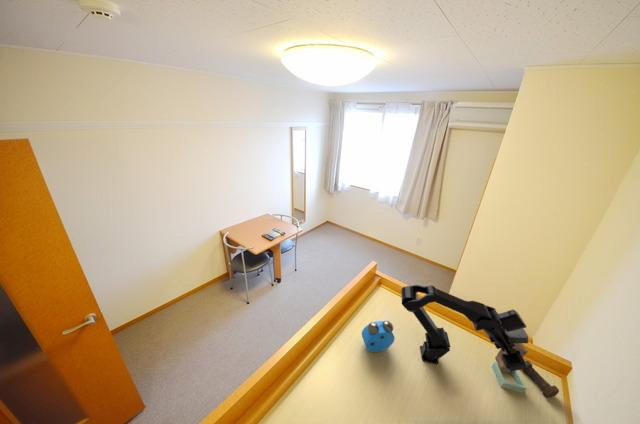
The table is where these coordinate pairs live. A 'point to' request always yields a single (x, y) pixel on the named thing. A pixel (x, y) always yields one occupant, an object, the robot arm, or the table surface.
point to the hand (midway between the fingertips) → (514, 355)
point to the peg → (499, 356)
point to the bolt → (541, 381)
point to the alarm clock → (378, 336)
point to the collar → (517, 387)
